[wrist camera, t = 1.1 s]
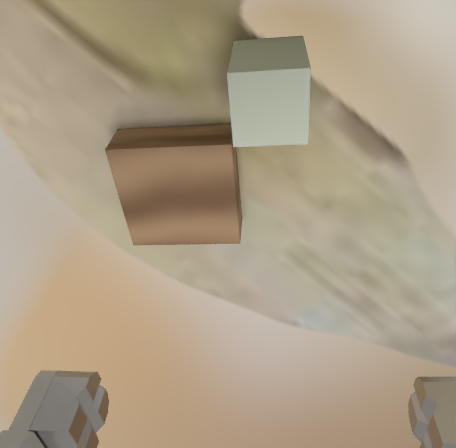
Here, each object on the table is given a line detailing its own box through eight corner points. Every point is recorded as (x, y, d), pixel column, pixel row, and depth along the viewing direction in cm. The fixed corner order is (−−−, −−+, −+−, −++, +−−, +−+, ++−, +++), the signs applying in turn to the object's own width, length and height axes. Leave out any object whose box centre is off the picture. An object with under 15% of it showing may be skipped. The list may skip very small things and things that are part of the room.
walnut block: (119, 127, 36) (105, 149, 33) (234, 121, 35) (231, 144, 32) (143, 219, 43) (133, 245, 39) (242, 216, 41) (240, 243, 38)
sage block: (233, 40, 31) (226, 73, 26) (302, 35, 30) (310, 67, 25) (238, 105, 34) (233, 147, 29) (301, 102, 34) (308, 143, 28)
